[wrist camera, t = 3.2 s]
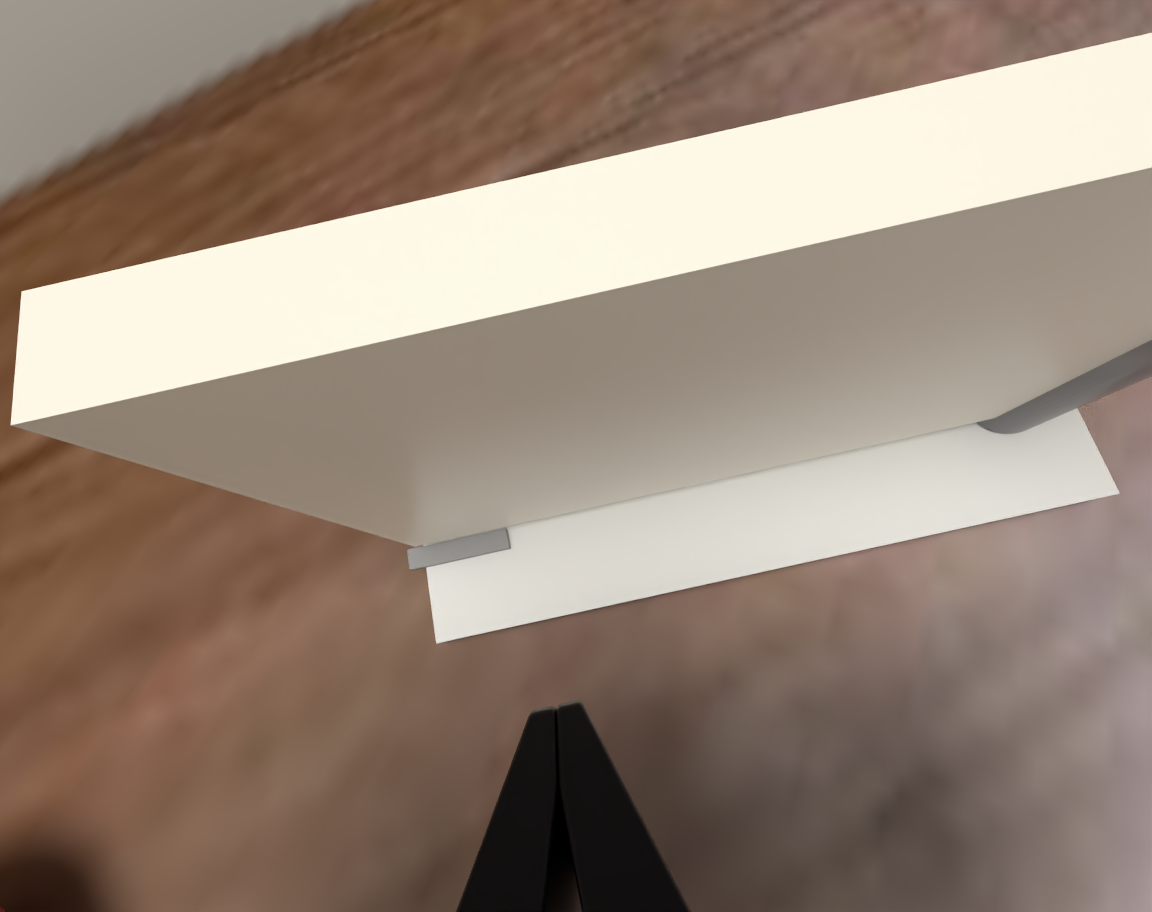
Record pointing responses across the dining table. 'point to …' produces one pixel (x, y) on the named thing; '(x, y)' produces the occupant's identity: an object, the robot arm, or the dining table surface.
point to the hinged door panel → (639, 312)
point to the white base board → (756, 523)
